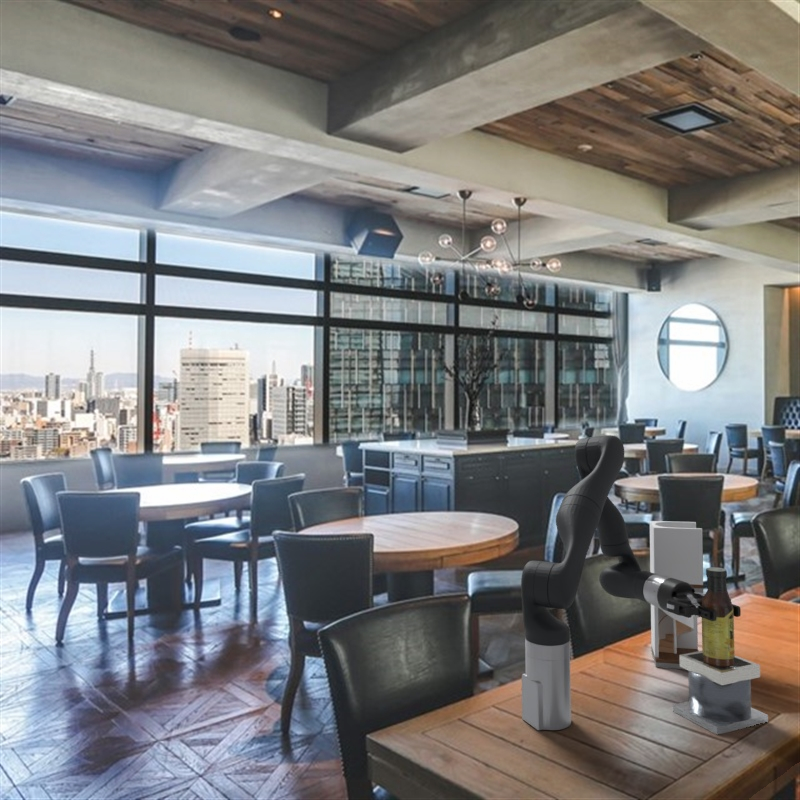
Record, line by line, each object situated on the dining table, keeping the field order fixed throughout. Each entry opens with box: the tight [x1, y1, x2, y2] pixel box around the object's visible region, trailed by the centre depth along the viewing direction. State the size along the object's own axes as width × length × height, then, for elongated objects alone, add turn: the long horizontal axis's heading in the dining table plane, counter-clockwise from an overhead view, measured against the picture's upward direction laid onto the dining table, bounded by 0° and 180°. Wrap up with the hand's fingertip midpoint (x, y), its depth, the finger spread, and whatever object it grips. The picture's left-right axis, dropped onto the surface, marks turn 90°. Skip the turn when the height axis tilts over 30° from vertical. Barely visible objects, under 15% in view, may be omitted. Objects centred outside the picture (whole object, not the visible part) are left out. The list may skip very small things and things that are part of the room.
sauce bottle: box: [701, 566, 736, 667], centre depth 153 cm, size 7×6×20 cm
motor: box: [672, 650, 769, 736], centre depth 153 cm, size 14×12×12 cm
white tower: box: [649, 520, 704, 670], centre depth 186 cm, size 11×11×35 cm
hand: (727, 614), depth 151 cm, fingers closed on sauce bottle, 6 cm apart
